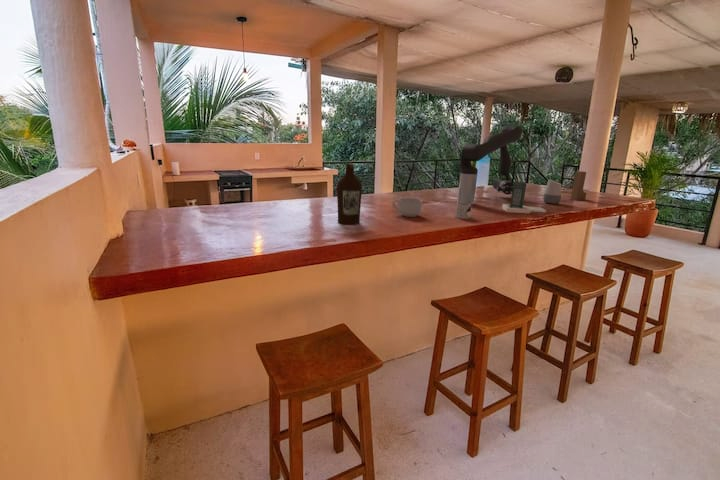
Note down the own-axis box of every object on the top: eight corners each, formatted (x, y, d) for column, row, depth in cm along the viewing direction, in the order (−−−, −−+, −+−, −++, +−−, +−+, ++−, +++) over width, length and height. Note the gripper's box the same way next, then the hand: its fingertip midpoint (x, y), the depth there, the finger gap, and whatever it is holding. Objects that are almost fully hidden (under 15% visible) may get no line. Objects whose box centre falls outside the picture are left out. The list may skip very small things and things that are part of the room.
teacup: (422, 214, 180) (423, 198, 177) (418, 219, 170) (419, 202, 168) (395, 211, 184) (395, 196, 182) (389, 216, 174) (390, 199, 172)
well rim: (506, 211, 192) (507, 208, 191) (502, 207, 203) (502, 204, 202) (530, 213, 190) (530, 209, 190) (524, 209, 201) (525, 205, 201)
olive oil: (334, 219, 164) (335, 162, 156) (357, 219, 166) (359, 163, 159) (338, 225, 154) (339, 165, 146) (363, 225, 156) (365, 165, 149)
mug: (469, 219, 172) (470, 205, 170) (454, 218, 174) (456, 204, 172) (470, 215, 181) (472, 202, 179) (456, 214, 183) (458, 201, 181)
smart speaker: (561, 205, 215) (565, 181, 211) (543, 204, 218) (547, 180, 214) (558, 202, 224) (562, 179, 220) (541, 201, 227) (545, 178, 223)
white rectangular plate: (530, 211, 195) (530, 209, 194) (525, 208, 204) (525, 206, 204) (546, 212, 193) (546, 210, 193) (540, 208, 203) (540, 207, 202)
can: (522, 210, 197) (527, 182, 193) (520, 212, 193) (525, 183, 188) (511, 208, 201) (515, 181, 196) (508, 210, 196) (512, 182, 191)
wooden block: (579, 198, 242) (584, 171, 237) (585, 199, 238) (591, 171, 233) (570, 199, 238) (575, 171, 233) (576, 200, 234) (582, 172, 229)
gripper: (495, 180, 221) (500, 184, 205) (520, 181, 219) (527, 185, 203) (493, 192, 223) (498, 197, 208) (518, 194, 221) (525, 198, 205)
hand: (513, 191), depth 205 cm, fingers open, 8 cm apart
